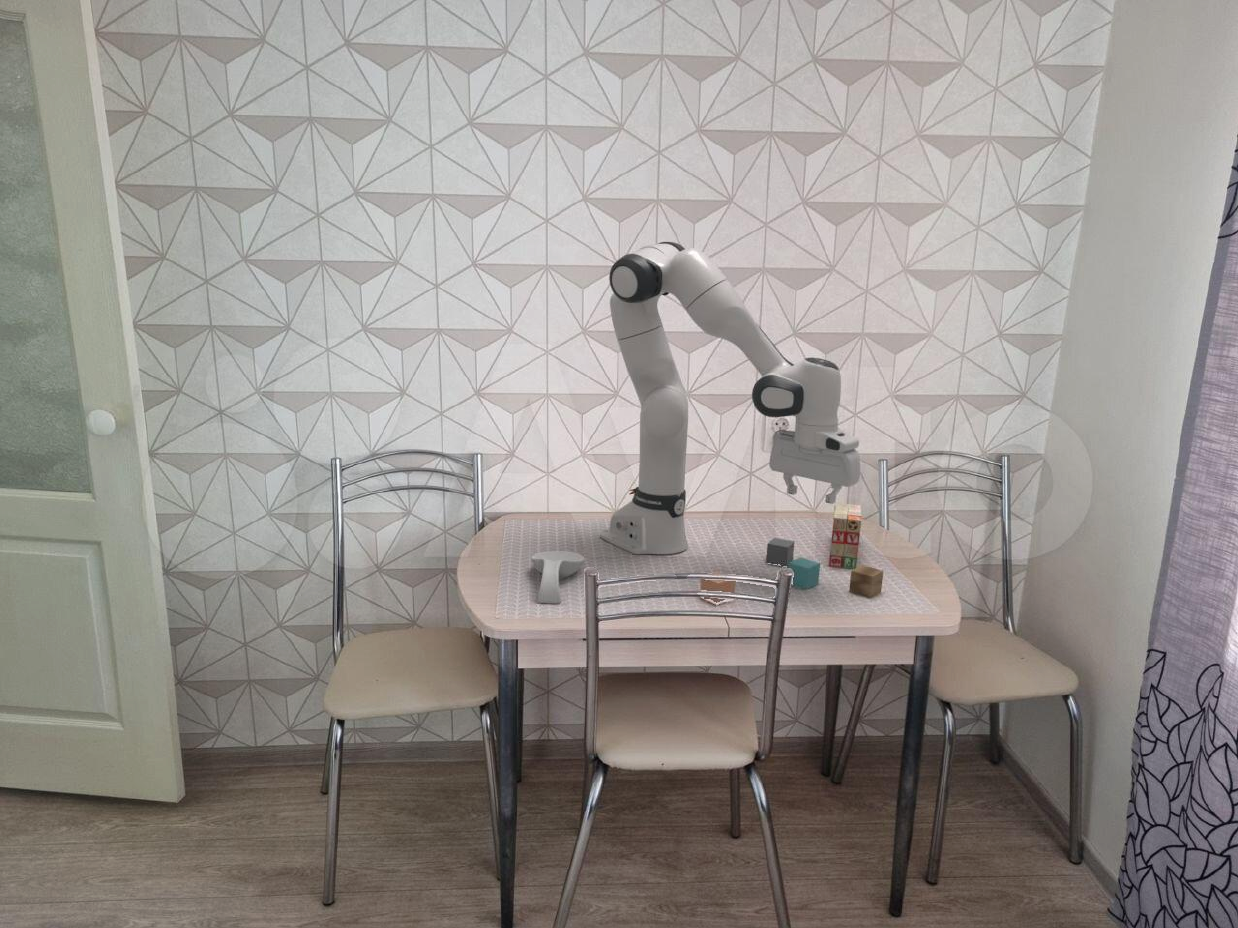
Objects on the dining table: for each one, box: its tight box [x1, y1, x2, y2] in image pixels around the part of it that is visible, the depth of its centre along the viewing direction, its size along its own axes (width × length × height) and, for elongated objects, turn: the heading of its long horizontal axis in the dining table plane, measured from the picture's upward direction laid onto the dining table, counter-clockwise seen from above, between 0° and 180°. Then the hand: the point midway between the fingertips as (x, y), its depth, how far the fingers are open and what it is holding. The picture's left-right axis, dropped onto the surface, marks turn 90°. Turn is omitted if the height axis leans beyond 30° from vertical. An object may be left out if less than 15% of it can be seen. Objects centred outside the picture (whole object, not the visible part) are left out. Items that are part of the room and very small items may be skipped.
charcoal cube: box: [765, 537, 795, 568], centre depth 211 cm, size 5×5×5 cm
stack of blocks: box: [828, 502, 862, 570], centre depth 217 cm, size 21×6×12 cm, turn 165°
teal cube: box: [787, 557, 821, 591], centre depth 198 cm, size 5×5×5 cm
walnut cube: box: [848, 564, 884, 599], centre depth 194 cm, size 5×5×5 cm
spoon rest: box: [530, 550, 585, 605], centre depth 194 cm, size 24×12×7 cm, turn 179°
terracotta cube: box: [700, 571, 736, 603], centre depth 188 cm, size 5×5×5 cm
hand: (810, 498), depth 194 cm, fingers open, 8 cm apart
